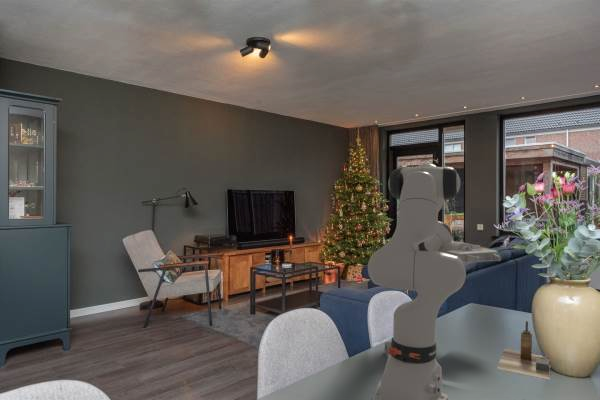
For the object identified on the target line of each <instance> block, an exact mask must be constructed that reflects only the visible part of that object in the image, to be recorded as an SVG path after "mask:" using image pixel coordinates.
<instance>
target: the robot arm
mask: <svg viewBox="0 0 600 400" xmlns="http://www.w3.org/2000/svg"><path fill="white" fill-rule="evenodd" d="M460 188H461V178H460V176H459V173H458V171H457V170H456V169H455V168H454V167H452V166H445V165H443V166H437V165H435V164H433V163H428V162H427V163H422V164H419V165H418V166H410V167H405V168H404V167H399V168H396V169H393V170H392V172H390V175H389V178H388V189H389V193H390V195H391V196H392V197H393V198H394V199H396V200H399V203H398V206H399V207H398V216H397V221H396V227H395V230H394V233H393V235H392V237H391V238H390V239H389V240H388V242H386V243H385V244H384V246H382V247H381V248H379V249H377V250H376V251H374V252H373V253H372V254H371V256H370V258H369V259H368V263H367V273H368V276H369V278H370V280H371V282H372V283H373V284H375V285H377V286H380V287H384V288H388V289H391V290H392V289H393V290H403V291H404V290H405V291H414V292H417V296H416V297H415V298H414V299H411V300H410V301H409V300H408V301H407V302H403V303H402V304H400V305H399V306H397V308H396V309H395V310H394V313H393V323H392V325H393V326H392V327H393V329H392V330H393V331H392V333H393V334H392V337H391V340H390V342H391V345H390V347H389V350H388V353H389V355H388V357H387V360H386V364H385V366H384V370H383V373H382V376H381V379H379V381H378V384H377V386H376V389H375V391H374V393H373V395H372V396H373V397H372V398H371V400H449V396H448V395H447V394H446V393H444V392H443V371H442V366H441V365H440V364H439V363H438V361H437V359H436V358H437V351H438V348H437V342H436V326H437V318H438V314H439V311H440V309H441V307H442V306H443V304H444V303H445V302H446V300H447V299H448V298H449V297H451V296H452V295H454V293H456V292H458V291H459V290H460V289H461V288H462V287H463V285H464V284H465V281H466V278H467V271H466V270H467V269H466V267H465V266H467V265H469V264H472V263H484V262H500V261H502V256H501V255H499V251H498V250H495V249H491V248H488V247H484V246H483V247H482V246H481V245H479V244H471V243H467V242H463V241H454V236H453V233H452V230H451V228H450V226H448V225H447V224H446V223H445V222H443V221H439V212H440V211H441V210H442V209H443V207H444V204H445V201H448V200H453V199H455V198H456V196H458V193H459V191H460Z"/></svg>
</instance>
